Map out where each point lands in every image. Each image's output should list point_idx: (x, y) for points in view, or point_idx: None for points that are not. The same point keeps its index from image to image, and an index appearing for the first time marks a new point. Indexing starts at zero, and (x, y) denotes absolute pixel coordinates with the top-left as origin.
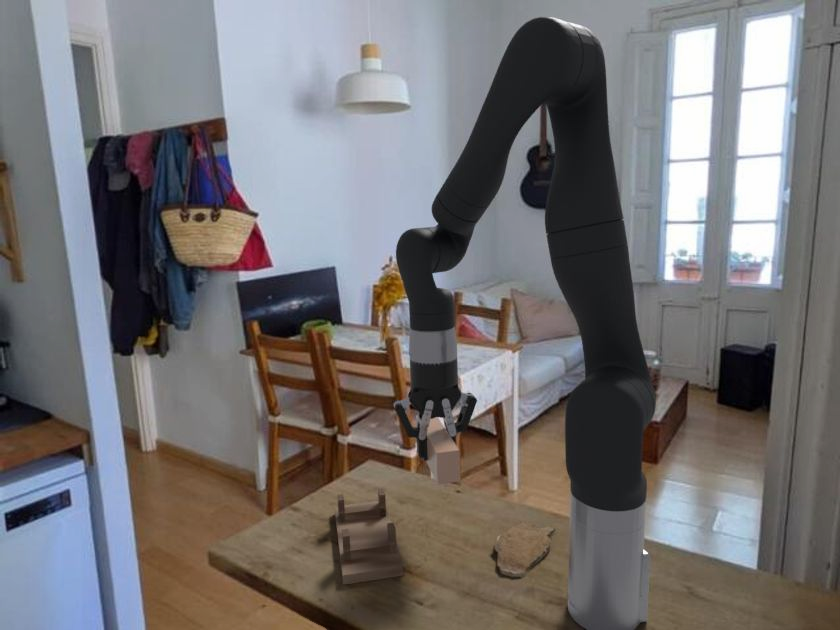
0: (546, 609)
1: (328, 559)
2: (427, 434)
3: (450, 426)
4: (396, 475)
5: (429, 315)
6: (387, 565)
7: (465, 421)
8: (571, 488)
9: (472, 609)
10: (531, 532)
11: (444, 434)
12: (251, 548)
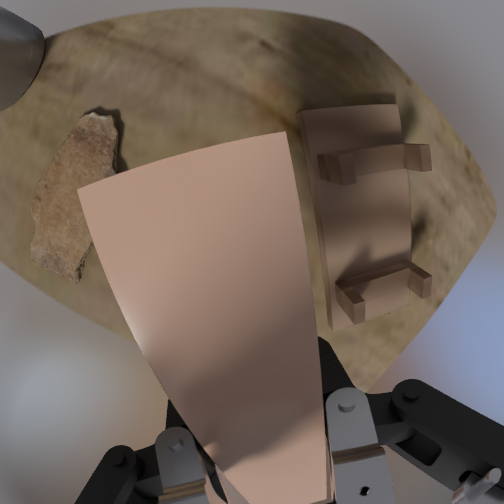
0: (68, 50)
1: (412, 174)
2: (318, 422)
3: (185, 474)
4: None
5: None
6: (331, 116)
7: (104, 488)
8: None
9: (176, 31)
10: (57, 238)
11: (219, 431)
12: (481, 212)
